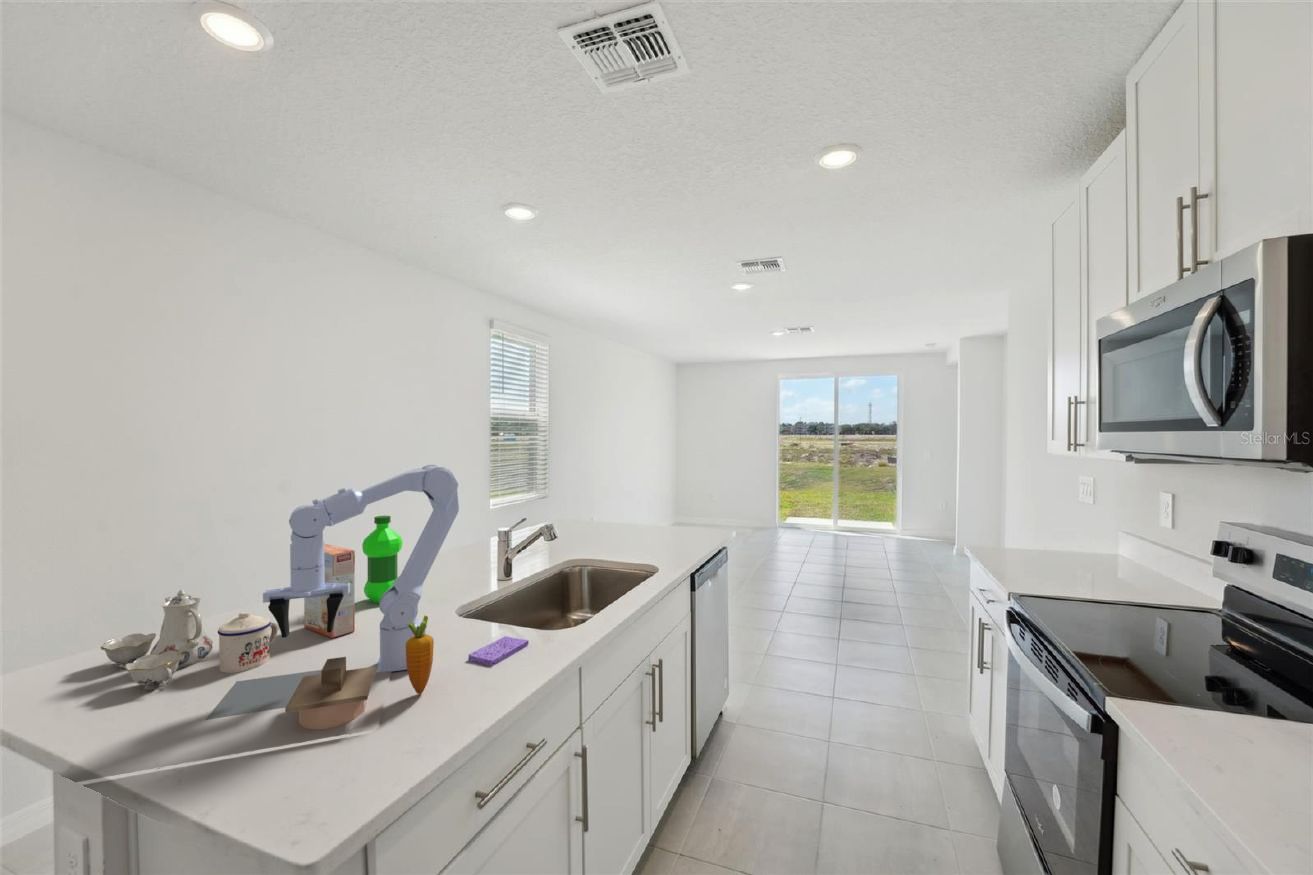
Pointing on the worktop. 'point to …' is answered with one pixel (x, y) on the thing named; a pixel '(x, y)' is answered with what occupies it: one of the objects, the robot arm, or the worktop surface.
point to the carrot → (419, 656)
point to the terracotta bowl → (331, 715)
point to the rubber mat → (259, 694)
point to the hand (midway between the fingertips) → (308, 633)
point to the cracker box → (315, 608)
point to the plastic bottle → (381, 558)
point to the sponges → (498, 650)
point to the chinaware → (164, 644)
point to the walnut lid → (332, 686)
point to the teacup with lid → (245, 643)
